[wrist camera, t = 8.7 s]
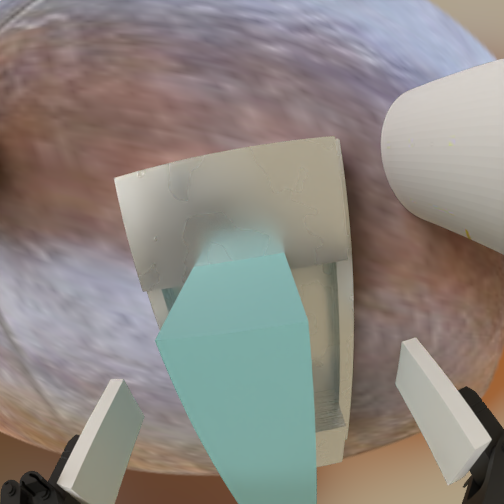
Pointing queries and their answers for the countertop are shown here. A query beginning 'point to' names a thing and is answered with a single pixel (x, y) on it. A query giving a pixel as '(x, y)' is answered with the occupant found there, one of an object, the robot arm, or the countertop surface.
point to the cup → (451, 152)
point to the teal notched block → (247, 376)
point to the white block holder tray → (258, 245)
